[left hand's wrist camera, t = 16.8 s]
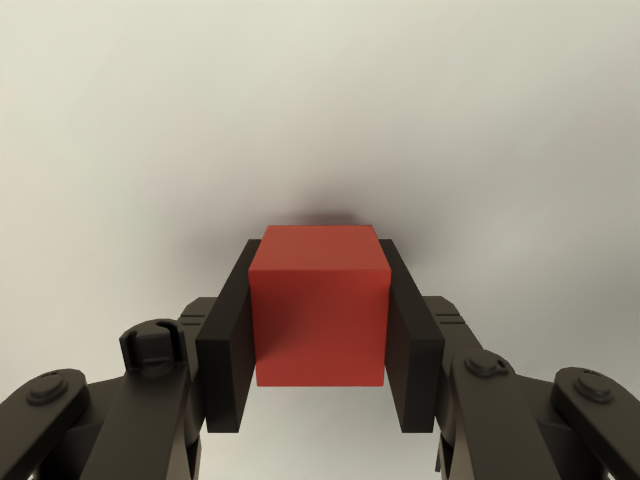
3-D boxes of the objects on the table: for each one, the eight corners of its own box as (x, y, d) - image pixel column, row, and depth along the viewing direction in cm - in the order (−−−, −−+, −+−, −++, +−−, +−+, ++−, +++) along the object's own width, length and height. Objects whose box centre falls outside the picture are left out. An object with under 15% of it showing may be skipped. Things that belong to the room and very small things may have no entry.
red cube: (267, 225, 14) (247, 270, 10) (371, 224, 14) (391, 269, 10) (272, 316, 16) (256, 387, 12) (367, 316, 16) (383, 386, 12)
